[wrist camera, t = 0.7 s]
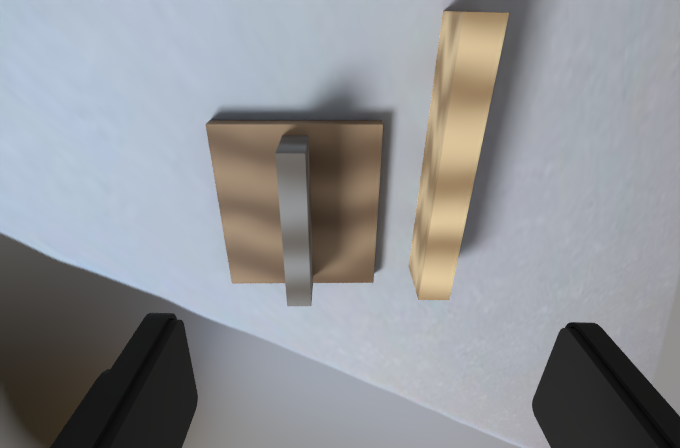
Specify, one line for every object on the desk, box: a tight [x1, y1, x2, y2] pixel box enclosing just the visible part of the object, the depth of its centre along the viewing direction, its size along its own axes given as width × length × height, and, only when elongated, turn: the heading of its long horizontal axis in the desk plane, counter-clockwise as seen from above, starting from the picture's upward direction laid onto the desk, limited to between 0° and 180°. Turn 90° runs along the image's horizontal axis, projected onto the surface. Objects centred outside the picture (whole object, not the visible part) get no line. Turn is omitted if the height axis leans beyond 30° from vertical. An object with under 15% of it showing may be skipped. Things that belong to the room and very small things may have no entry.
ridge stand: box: [206, 120, 383, 306], centre depth 38 cm, size 18×16×6 cm
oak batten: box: [409, 11, 509, 300], centre depth 36 cm, size 26×3×6 cm, turn 179°
